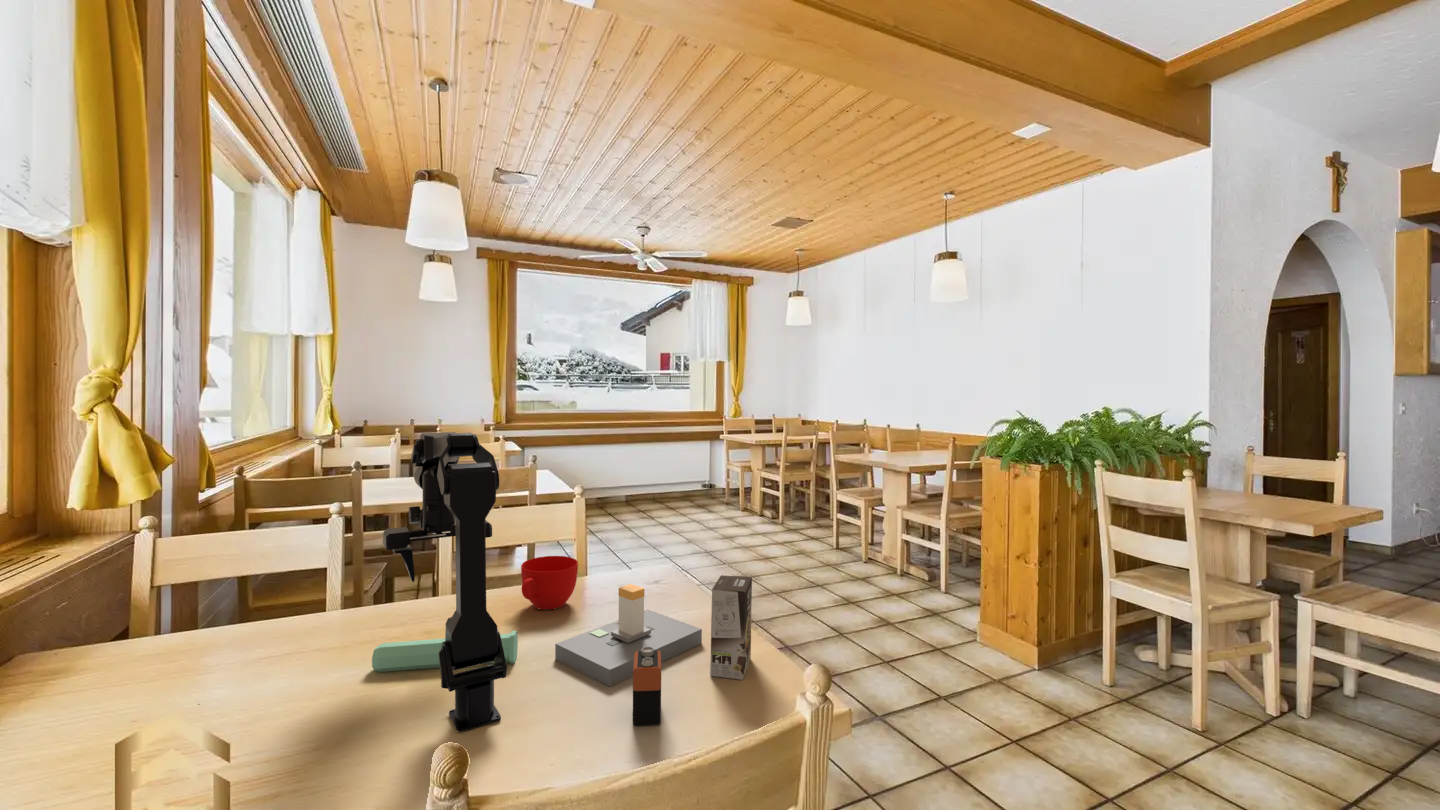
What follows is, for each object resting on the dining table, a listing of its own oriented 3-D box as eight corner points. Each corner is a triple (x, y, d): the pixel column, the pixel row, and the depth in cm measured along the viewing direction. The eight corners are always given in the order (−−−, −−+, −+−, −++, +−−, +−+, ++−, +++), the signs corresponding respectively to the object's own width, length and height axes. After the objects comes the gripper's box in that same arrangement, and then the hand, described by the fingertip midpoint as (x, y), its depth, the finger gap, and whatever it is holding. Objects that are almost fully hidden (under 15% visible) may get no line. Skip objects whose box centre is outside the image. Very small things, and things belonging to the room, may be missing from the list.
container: (368, 641, 111) (514, 630, 116) (379, 640, 116) (518, 630, 121) (364, 676, 109) (512, 664, 114) (376, 675, 114) (517, 663, 119)
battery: (660, 703, 102) (660, 644, 102) (660, 726, 96) (661, 662, 95) (633, 704, 102) (634, 644, 102) (632, 727, 95) (633, 663, 95)
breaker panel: (609, 686, 108) (609, 668, 107) (555, 659, 118) (555, 642, 118) (701, 643, 126) (701, 628, 126) (647, 622, 136) (647, 608, 136)
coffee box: (744, 680, 111) (745, 591, 110) (709, 676, 112) (710, 588, 111) (751, 658, 119) (753, 576, 119) (719, 655, 121) (720, 573, 120)
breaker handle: (627, 642, 118) (628, 594, 118) (610, 635, 121) (611, 588, 121) (650, 633, 122) (651, 587, 122) (633, 626, 126) (634, 581, 125)
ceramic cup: (498, 617, 138) (498, 573, 138) (541, 593, 154) (541, 553, 154) (549, 625, 134) (549, 579, 134) (587, 599, 150) (588, 558, 150)
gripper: (478, 487, 131) (478, 559, 132) (379, 495, 121) (379, 574, 121) (493, 495, 122) (492, 573, 123) (386, 505, 111) (386, 590, 112)
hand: (439, 577), depth 120 cm, fingers open, 9 cm apart
